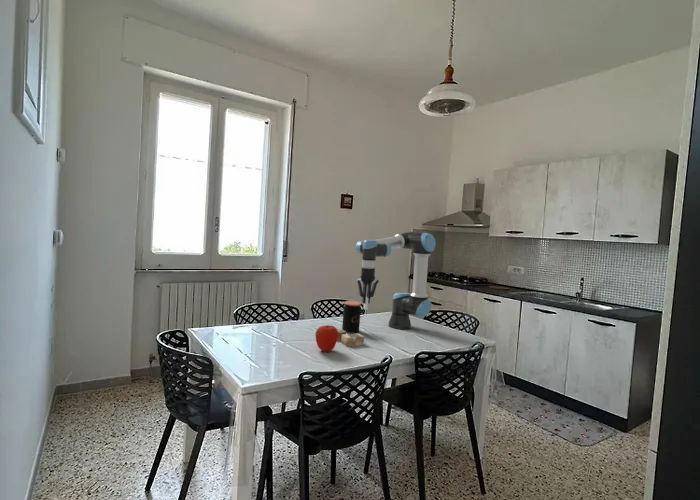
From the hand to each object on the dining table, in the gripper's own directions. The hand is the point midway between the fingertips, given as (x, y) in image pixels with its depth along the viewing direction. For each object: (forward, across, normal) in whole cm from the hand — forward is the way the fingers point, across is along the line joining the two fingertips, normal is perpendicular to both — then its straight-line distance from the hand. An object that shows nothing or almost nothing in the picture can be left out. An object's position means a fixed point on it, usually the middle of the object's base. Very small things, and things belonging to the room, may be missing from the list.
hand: (365, 309), depth 221 cm
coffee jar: (+20, 0, -25) cm, 32 cm away
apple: (+20, +25, +10) cm, 33 cm away
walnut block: (+17, +10, -7) cm, 21 cm away
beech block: (+18, +1, 0) cm, 18 cm away
